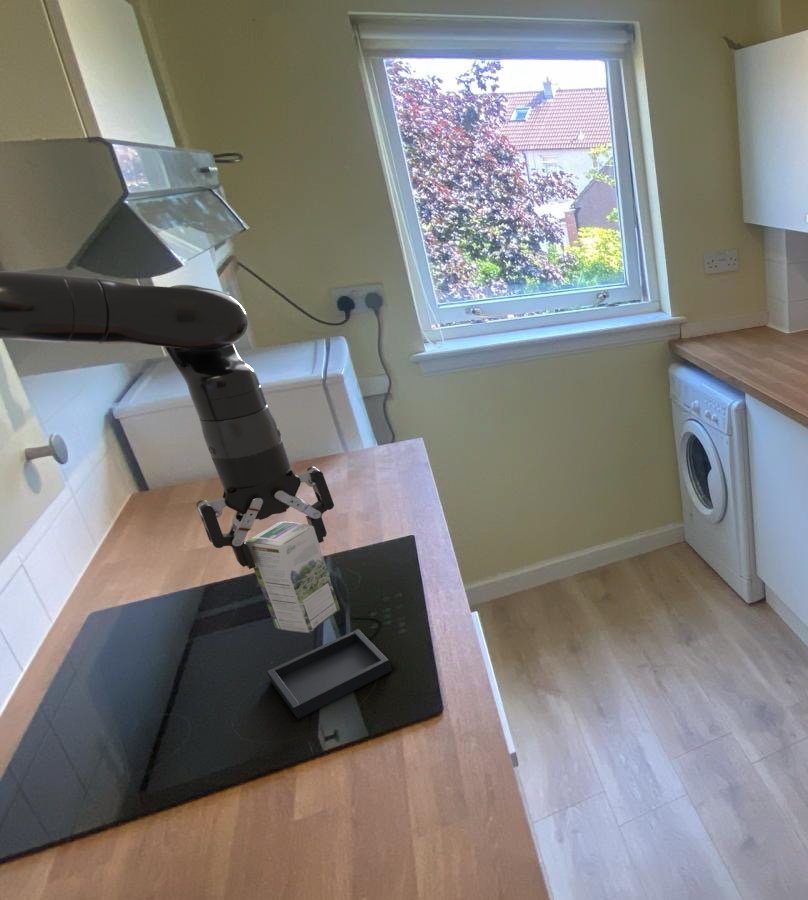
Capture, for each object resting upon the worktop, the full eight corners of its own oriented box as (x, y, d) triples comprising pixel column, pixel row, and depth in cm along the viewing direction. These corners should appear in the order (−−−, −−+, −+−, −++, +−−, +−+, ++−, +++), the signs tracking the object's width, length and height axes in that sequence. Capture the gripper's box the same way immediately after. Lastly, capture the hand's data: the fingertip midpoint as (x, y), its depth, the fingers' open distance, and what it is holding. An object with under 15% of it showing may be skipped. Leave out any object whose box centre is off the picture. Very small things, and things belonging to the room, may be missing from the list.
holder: (298, 719, 101) (293, 707, 100) (271, 682, 108) (266, 671, 107) (392, 671, 110) (388, 659, 109) (361, 639, 117) (358, 628, 116)
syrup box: (308, 605, 108) (277, 519, 102) (342, 610, 106) (313, 523, 100) (275, 630, 102) (240, 540, 97) (311, 634, 101) (278, 544, 95)
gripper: (298, 420, 100) (332, 524, 107) (169, 454, 91) (215, 566, 97) (318, 433, 96) (352, 541, 103) (184, 471, 86) (231, 586, 93)
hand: (285, 553), depth 100 cm, fingers closed on syrup box, 7 cm apart
